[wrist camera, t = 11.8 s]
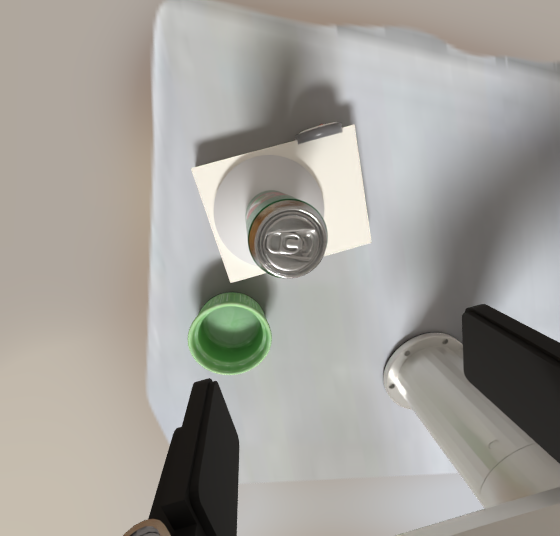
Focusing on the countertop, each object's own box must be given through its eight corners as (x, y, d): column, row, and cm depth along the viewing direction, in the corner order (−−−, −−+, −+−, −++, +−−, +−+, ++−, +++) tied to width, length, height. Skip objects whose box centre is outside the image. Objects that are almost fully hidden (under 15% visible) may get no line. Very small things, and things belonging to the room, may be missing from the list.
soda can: (292, 243, 29) (326, 286, 18) (243, 239, 28) (245, 282, 17) (299, 192, 27) (339, 204, 16) (247, 187, 26) (251, 195, 15)
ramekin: (209, 276, 32) (204, 291, 28) (279, 301, 34) (284, 318, 30) (184, 340, 34) (176, 363, 30) (252, 360, 36) (253, 383, 32)
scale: (344, 121, 29) (362, 112, 24) (362, 237, 33) (380, 247, 29) (192, 162, 28) (184, 159, 24) (231, 275, 32) (229, 290, 28)
